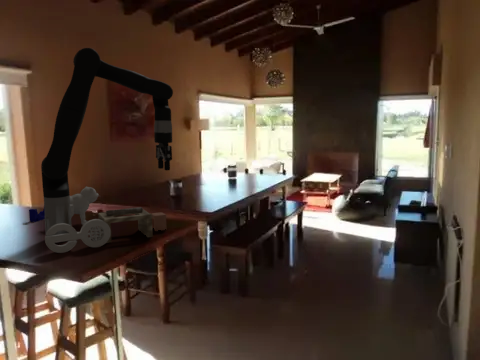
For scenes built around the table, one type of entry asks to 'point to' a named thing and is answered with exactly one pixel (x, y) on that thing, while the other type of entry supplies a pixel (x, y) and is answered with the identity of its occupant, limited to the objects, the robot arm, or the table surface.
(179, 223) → the table surface
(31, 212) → the cable clip
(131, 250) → the table surface
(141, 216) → the shelf
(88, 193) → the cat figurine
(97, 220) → the gray double disc plate
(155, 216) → the tan block
